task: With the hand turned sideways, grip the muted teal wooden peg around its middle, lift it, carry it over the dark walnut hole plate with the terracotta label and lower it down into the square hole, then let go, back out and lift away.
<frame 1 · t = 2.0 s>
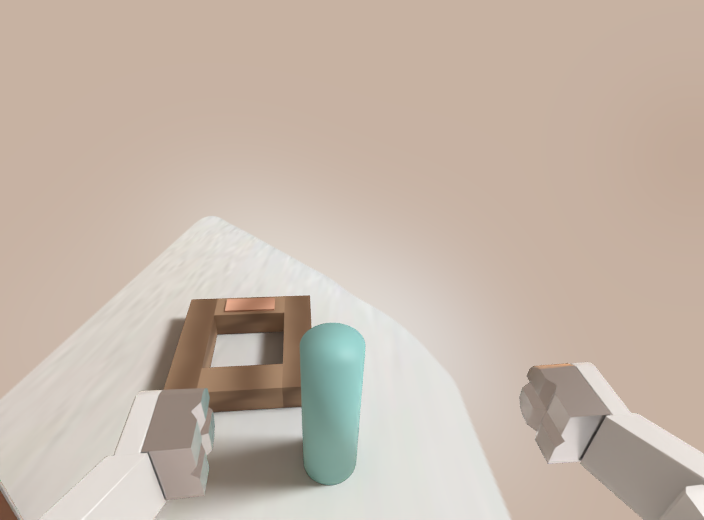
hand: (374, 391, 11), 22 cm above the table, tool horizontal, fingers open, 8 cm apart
teal peg: (329, 459, 33), on the table
hole plate: (248, 357, 41), on the table
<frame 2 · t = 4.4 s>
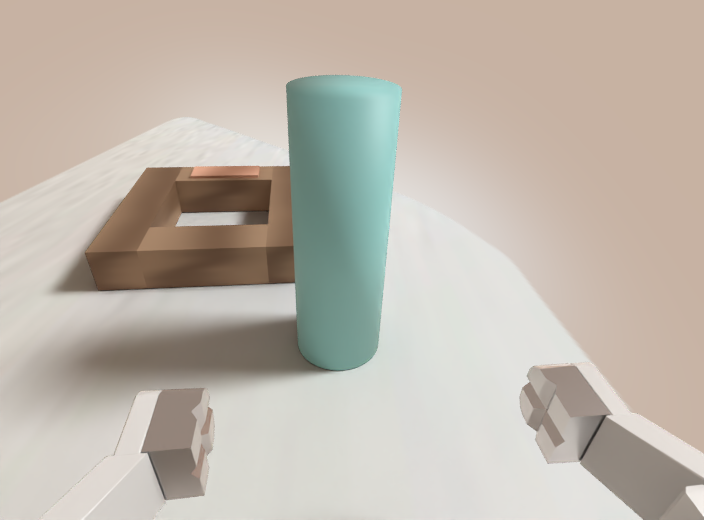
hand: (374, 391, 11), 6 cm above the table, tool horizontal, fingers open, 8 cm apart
teal peg: (338, 340, 22), on the table
hole plate: (222, 233, 30), on the table
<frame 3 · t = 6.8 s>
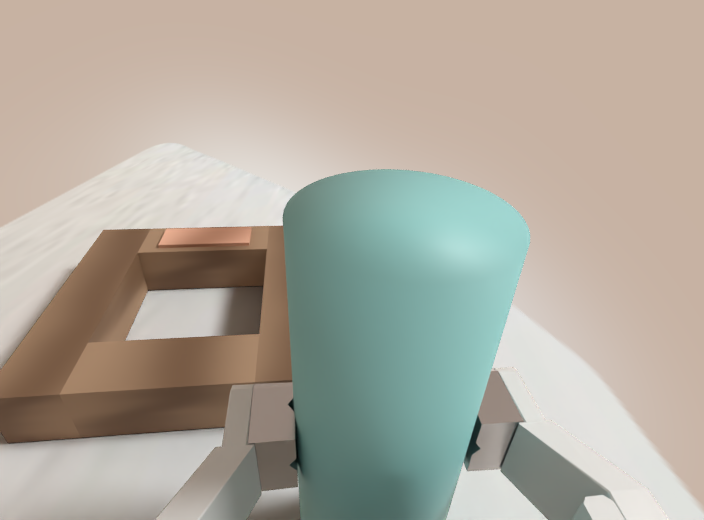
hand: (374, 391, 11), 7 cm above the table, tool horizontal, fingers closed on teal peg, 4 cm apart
hole plate: (199, 327, 22), on the table
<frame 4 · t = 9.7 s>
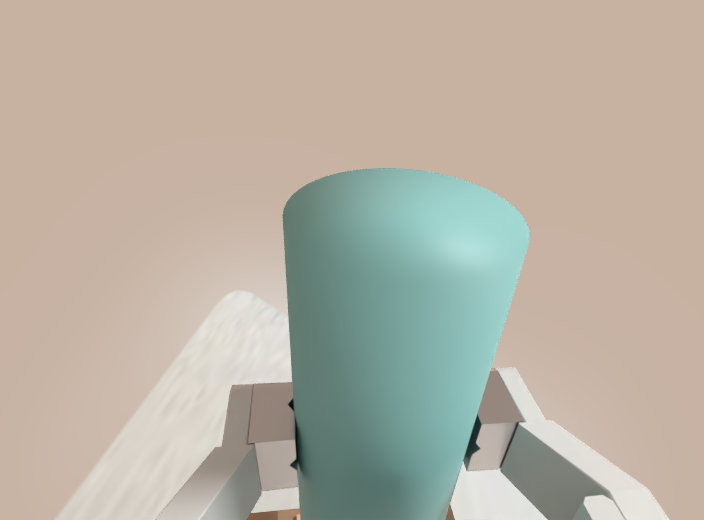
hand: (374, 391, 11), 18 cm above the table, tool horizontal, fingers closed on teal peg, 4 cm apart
when the fingers open (8 cm above the table, at t = 12.8 s): teal peg drops 1 cm, resting in hole plate.
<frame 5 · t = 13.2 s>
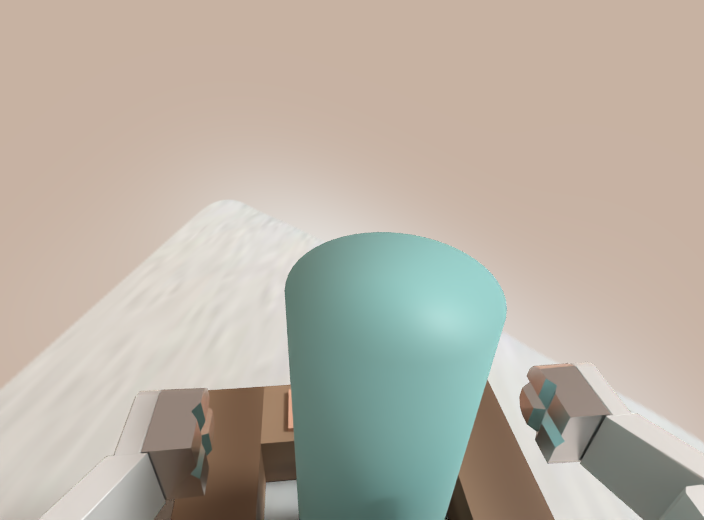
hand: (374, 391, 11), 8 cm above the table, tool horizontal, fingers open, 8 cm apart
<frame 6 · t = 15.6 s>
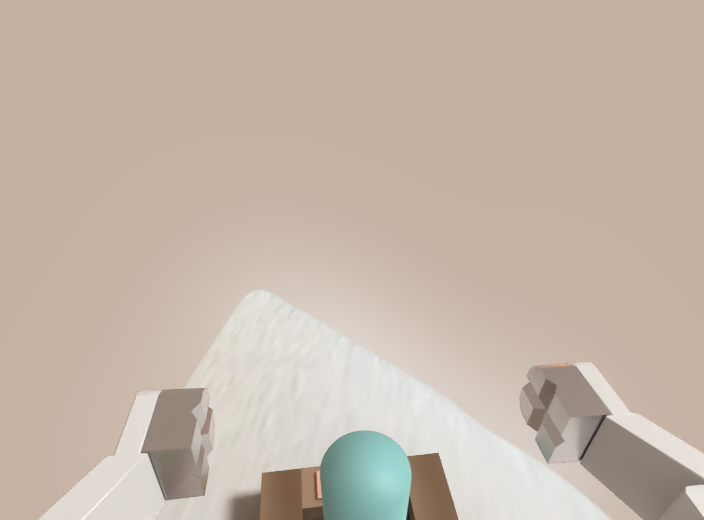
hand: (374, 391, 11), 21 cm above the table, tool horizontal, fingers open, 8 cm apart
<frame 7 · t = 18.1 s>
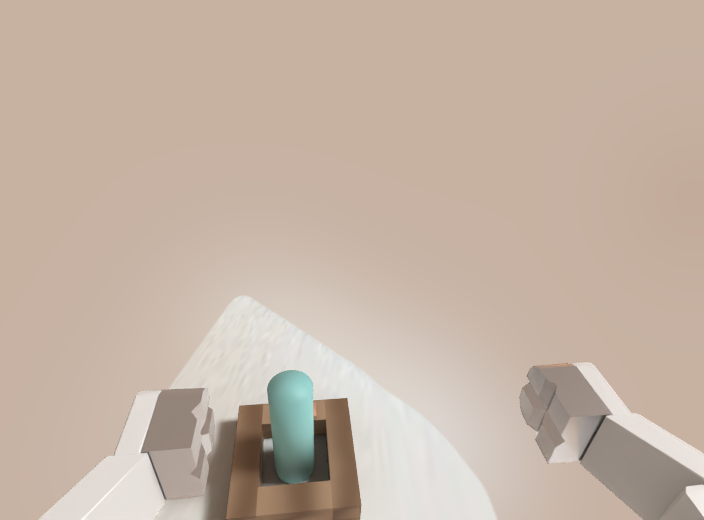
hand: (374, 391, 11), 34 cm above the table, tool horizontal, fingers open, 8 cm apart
teal peg: (295, 465, 45), resting in hole plate
hole plate: (295, 465, 45), on the table
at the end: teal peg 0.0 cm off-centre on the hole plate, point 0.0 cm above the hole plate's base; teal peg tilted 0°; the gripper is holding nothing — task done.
